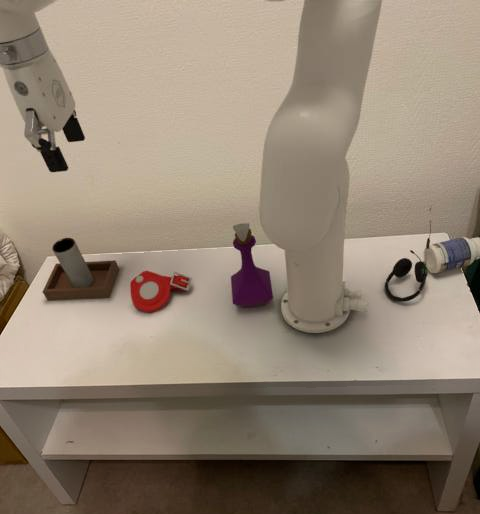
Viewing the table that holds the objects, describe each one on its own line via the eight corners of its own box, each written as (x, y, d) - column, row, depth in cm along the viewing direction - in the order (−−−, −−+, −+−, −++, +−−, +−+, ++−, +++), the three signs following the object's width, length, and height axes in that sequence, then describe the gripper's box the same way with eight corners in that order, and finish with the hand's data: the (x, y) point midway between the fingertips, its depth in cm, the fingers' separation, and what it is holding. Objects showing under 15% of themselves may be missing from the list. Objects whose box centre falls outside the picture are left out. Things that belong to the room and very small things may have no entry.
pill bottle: (439, 272, 86) (491, 260, 87) (433, 243, 86) (484, 231, 87) (426, 275, 92) (474, 263, 92) (420, 247, 92) (468, 235, 92)
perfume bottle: (233, 288, 95) (218, 213, 82) (270, 283, 95) (261, 206, 81) (235, 315, 90) (219, 241, 77) (274, 310, 90) (265, 234, 76)
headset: (455, 191, 83) (403, 291, 80) (465, 214, 88) (416, 309, 86) (418, 187, 87) (368, 282, 85) (430, 210, 93) (383, 299, 90)
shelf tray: (119, 269, 104) (115, 260, 102) (109, 297, 98) (105, 288, 96) (60, 272, 106) (55, 263, 104) (47, 300, 100) (42, 291, 98)
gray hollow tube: (83, 272, 104) (63, 235, 96) (98, 278, 102) (79, 240, 94) (68, 286, 101) (47, 249, 94) (83, 292, 99) (63, 254, 92)
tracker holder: (143, 318, 91) (116, 283, 95) (151, 326, 95) (125, 293, 99) (193, 278, 93) (164, 246, 97) (199, 288, 97) (171, 257, 101)
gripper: (22, 68, 63) (74, 181, 76) (62, 23, 75) (102, 128, 87) (-29, 75, 65) (30, 185, 77) (18, 30, 76) (63, 132, 89)
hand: (68, 155), depth 82 cm, fingers open, 9 cm apart
